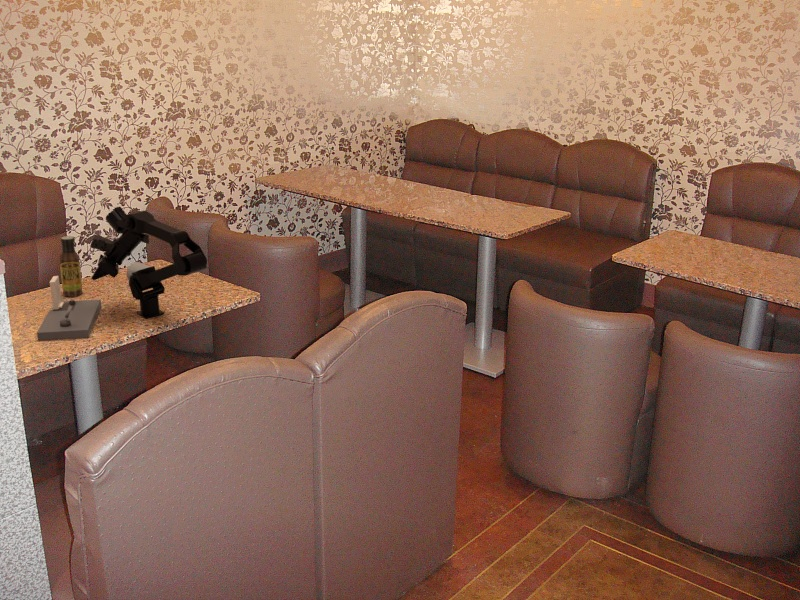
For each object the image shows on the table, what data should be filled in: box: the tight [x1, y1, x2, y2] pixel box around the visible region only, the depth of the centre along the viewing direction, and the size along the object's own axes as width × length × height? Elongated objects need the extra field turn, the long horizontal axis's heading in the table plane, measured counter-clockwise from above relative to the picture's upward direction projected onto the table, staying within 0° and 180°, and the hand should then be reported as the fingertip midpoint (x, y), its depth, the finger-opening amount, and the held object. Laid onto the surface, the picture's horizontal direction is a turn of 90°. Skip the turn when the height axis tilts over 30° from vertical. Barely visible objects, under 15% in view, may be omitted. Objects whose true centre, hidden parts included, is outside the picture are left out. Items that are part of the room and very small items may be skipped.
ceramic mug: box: [126, 261, 151, 281], centre depth 278 cm, size 11×8×8 cm
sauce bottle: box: [59, 235, 83, 297], centre depth 264 cm, size 6×6×20 cm
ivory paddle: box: [49, 275, 64, 310], centre depth 248 cm, size 3×6×9 cm, turn 12°
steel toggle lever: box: [65, 299, 76, 318], centre depth 234 cm, size 2×2×6 cm
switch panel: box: [36, 299, 102, 341], centre depth 243 cm, size 14×26×4 cm, turn 12°
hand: (92, 279), depth 248 cm, fingers closed
